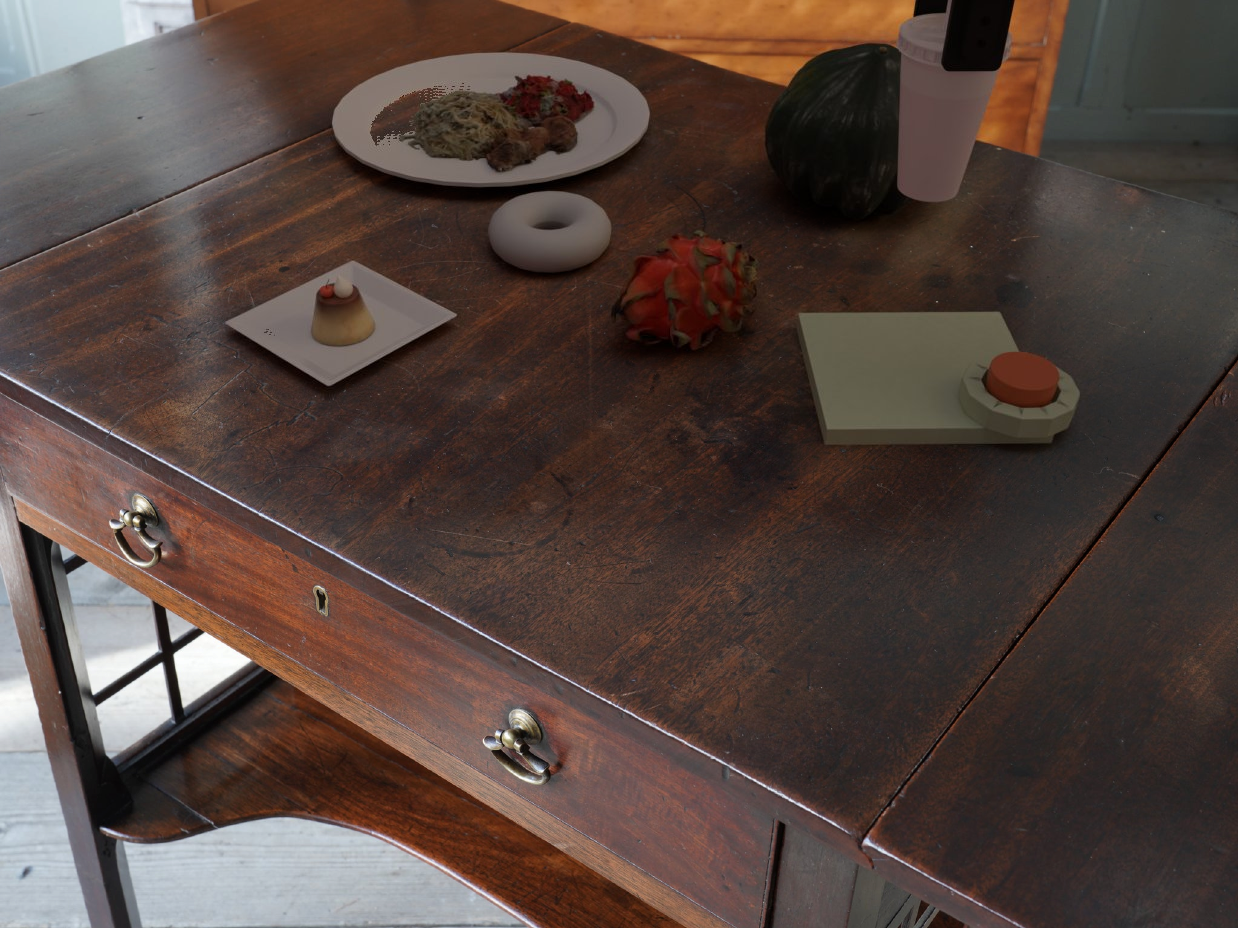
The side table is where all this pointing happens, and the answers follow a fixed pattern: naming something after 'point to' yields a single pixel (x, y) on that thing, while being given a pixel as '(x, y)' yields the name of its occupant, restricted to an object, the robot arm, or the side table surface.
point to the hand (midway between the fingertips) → (954, 42)
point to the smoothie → (936, 111)
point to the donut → (549, 231)
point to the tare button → (1022, 379)
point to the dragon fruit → (687, 291)
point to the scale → (919, 380)
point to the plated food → (495, 119)
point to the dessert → (340, 321)
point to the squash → (841, 131)
